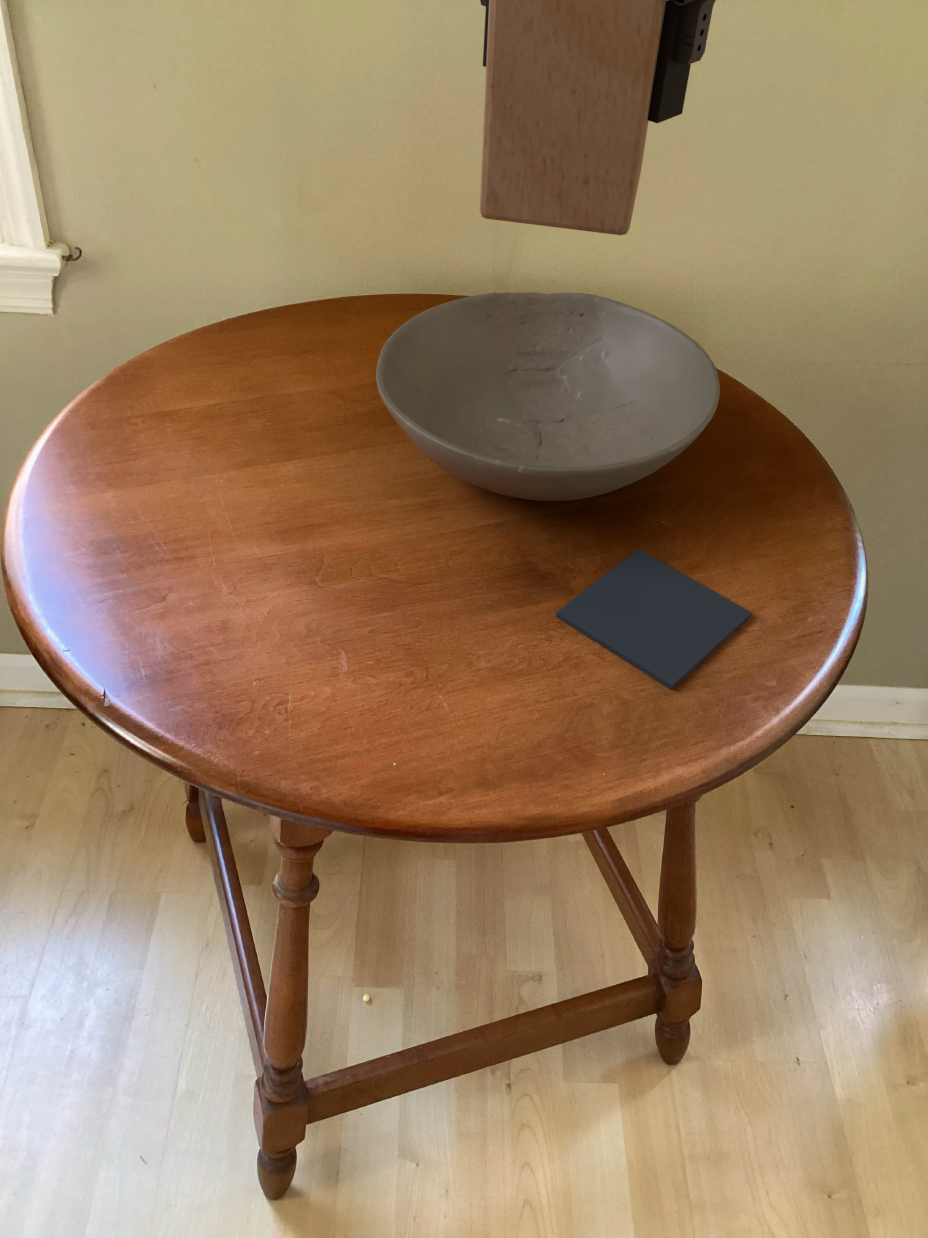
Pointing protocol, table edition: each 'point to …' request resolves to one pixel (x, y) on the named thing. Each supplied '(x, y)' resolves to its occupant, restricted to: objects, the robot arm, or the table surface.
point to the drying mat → (654, 617)
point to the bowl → (546, 392)
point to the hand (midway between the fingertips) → (578, 89)
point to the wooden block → (567, 110)
